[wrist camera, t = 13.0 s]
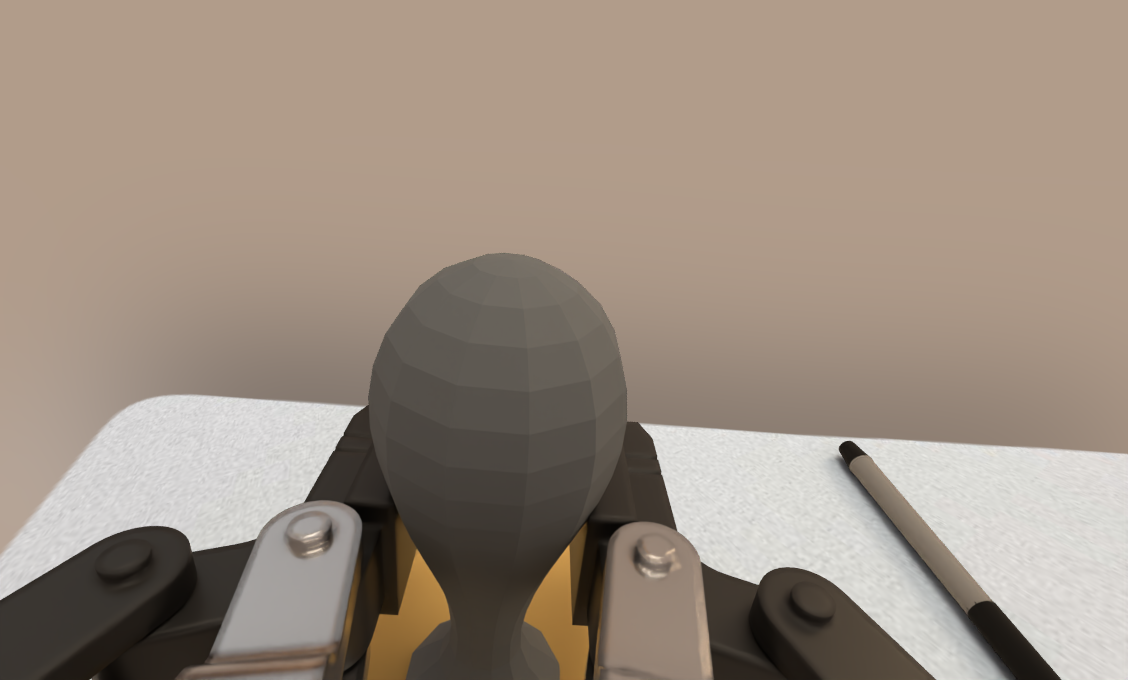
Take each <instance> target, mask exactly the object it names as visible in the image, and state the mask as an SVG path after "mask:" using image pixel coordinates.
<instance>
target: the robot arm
mask: <svg viewBox="0 0 1128 680" xmlns="http://www.w3.org/2000/svg"><path fill="white" fill-rule="evenodd" d="M569 549H570V578H571V606H572V625H578V626H588V637H589V650H588V656H587V661H586V666H585V675H584V680H936V679H935V678H934V677H933V676H932V675H931V674H929V673H928V672H927V671H926V670H925V669H924V668H923V667H922V666H921V665H920V664H919V663H918V662H917V661H916V660H915V659H914V658H913V657H912V656H910V655H909V654H908V653H907V652H906V651H905V650H904V649H903V648H902V647H901V646H900V645H899V644H898V643H897V642H896V641H895V640H894V639H893V638H891V637H890V636H889V635H888V634H887V633H886V632H885V631H884V630H883V629H882V628H881V627H880V626H879V625H878V624H877V623H876V622H875V621H874V620H872V619H871V618H870V617H869V616H868V615H867V614H866V613H865V612H864V611H863V610H862V609H861V608H860V607H859V606H858V605H857V604H856V603H855V602H854V601H852V600H851V599H850V598H849V597H848V596H847V595H846V594H845V593H844V592H843V591H842V590H841V589H839V588H838V587H837V586H836V585H834V584H833V583H831V582H830V581H828V580H827V579H825V578H823V577H821V576H819V575H817V574H815V573H812V572H810V571H807V570H803V569H798V568H790V567H785V568H778V569H774V570H772V571H770V572H768V573H767V574H766V575H765V576H764V577H763V578H762V580H761V581H760V584H759V585H756V584H753V583H750V582H747V581H744V580H741V579H738V578H735V577H732V576H729V575H726V574H723V573H721V572H718V571H716V570H714V569H712V568H710V567H708V566H707V565H705V564H704V563H702V562H701V561H700V557H699V555H698V553H697V551H696V549H695V548H694V546H693V545H692V544H691V543H690V542H689V540H688V539H686V538H685V537H684V536H683V535H682V534H680V533H679V532H677V528H676V524H675V521H674V517H673V513H672V510H671V506H670V502H669V498H668V495H667V491H666V487H665V484H664V480H663V476H662V475H661V469H660V465H659V461H658V460H657V454H656V450H655V446H654V443H653V439H652V438H651V436H650V435H649V434H648V433H647V432H646V431H645V430H644V429H643V427H642V426H641V425H640V424H639V423H638V422H627V424H626V429H625V435H624V440H623V446H622V451H621V454H620V456H619V459H618V462H617V465H616V468H615V470H614V473H613V476H612V478H611V480H610V482H609V484H608V486H607V488H606V490H605V492H604V494H603V495H602V497H601V499H600V501H599V503H598V504H597V506H596V507H595V508H594V510H593V511H592V512H591V513H590V515H589V517H588V519H587V521H586V523H585V524H584V525H583V527H582V528H581V529H580V531H579V532H578V533H577V535H576V536H575V538H574V539H573V540H572V542H571V543H570V544H569ZM416 550H417V548H416V546H415V545H414V543H413V541H412V540H411V538H410V536H409V534H408V532H407V530H406V528H405V526H404V524H403V522H402V520H401V517H400V515H399V512H398V510H397V508H396V505H395V503H394V500H393V498H392V495H391V493H390V490H389V488H388V486H387V483H386V481H385V478H384V475H383V473H382V470H381V467H380V465H379V462H378V459H377V457H376V452H375V448H374V444H373V439H372V435H371V430H370V420H369V405H368V406H366V407H365V408H363V409H362V410H361V411H359V412H358V413H357V414H355V415H354V416H353V418H352V419H351V421H350V423H349V425H348V426H347V428H346V430H345V432H344V436H342V437H341V439H340V440H339V442H338V444H337V446H336V449H335V451H333V453H332V454H331V456H330V458H329V460H328V461H327V463H326V465H325V467H324V468H323V470H322V472H321V474H320V475H319V477H318V479H317V481H316V482H315V484H314V486H313V488H312V489H311V491H310V493H309V495H308V496H307V498H306V500H305V502H304V503H302V504H299V505H296V506H293V507H291V508H288V509H286V510H284V511H283V512H281V513H279V514H278V515H276V516H275V517H274V518H272V519H271V520H270V521H269V522H268V523H267V524H266V525H265V526H264V527H263V529H262V530H261V532H260V534H259V535H258V537H257V539H255V540H252V541H249V542H244V543H240V544H235V545H229V546H224V547H218V548H212V549H207V550H201V551H195V552H192V551H191V547H190V543H189V540H188V539H187V537H186V536H185V535H184V534H183V533H181V532H180V531H178V530H176V529H173V528H169V527H164V526H147V527H140V528H134V529H130V530H126V531H123V532H120V533H117V534H114V535H112V536H110V537H107V538H105V539H103V540H101V541H99V542H97V543H95V544H93V545H92V546H90V547H88V548H87V549H85V550H83V551H82V552H80V553H78V554H77V555H75V556H73V557H72V558H70V559H68V560H67V561H65V562H63V563H62V564H60V565H58V566H57V567H55V568H53V569H52V570H50V571H48V572H47V573H45V574H43V575H42V576H40V577H38V578H37V579H35V580H33V581H32V582H30V583H28V584H27V585H25V586H23V587H22V588H20V589H18V590H17V591H15V592H13V593H12V594H10V595H8V596H7V597H5V598H3V599H2V600H0V680H90V679H91V678H92V680H367V677H368V670H369V663H370V653H371V648H370V642H371V640H372V637H373V634H374V631H375V627H376V624H377V621H378V618H379V615H380V614H385V615H398V614H399V610H400V607H401V603H402V600H403V596H404V592H405V589H406V585H407V582H408V578H409V575H410V571H411V568H412V564H413V560H414V557H415V553H416Z"/></svg>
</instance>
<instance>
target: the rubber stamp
mask: <svg viewBox="0 0 1128 680" xmlns="http://www.w3.org/2000/svg"><path fill="white" fill-rule="evenodd" d="M368 400H369V420H370V430H371V435H372V439H373V444H374V448H375V452H376V457H377V459H378V462H379V465H380V467H381V470H382V473H383V475H384V478H385V481H386V483H387V486H388V488H389V490H390V493H391V495H392V498H393V500H394V503H395V505H396V508H397V510H398V512H399V515H400V517H401V520H402V522H403V524H404V526H405V528H406V530H407V532H408V534H409V536H410V538H411V540H412V541H413V543H414V545H415V546H416V548H417V550H416V553H415V557H414V560H413V564H412V568H411V571H410V575H409V578H408V582H407V585H406V589H405V592H404V596H403V600H402V603H401V607H400V610H399V614H398V615H385V614H380V615H379V618H378V621H377V624H376V627H375V631H374V634H373V637H372V640H371V642H370V648H371V653H370V663H369V670H368V677H367V680H584V675H585V666H586V661H587V656H588V650H589V637H588V626H578V625H572V606H571V578H570V549H569V544H570V543H571V542H572V540H573V539H574V538H575V536H576V535H577V533H578V532H579V531H580V529H581V528H582V527H583V525H584V524H585V523H586V521H587V519H588V517H589V515H590V513H591V512H592V511H593V510H594V508H595V507H596V506H597V504H598V503H599V501H600V499H601V497H602V495H603V494H604V492H605V490H606V488H607V486H608V484H609V482H610V480H611V478H612V476H613V473H614V470H615V468H616V465H617V462H618V459H619V456H620V454H621V451H622V446H623V440H624V435H625V429H626V424H627V388H626V383H625V377H624V372H623V367H622V361H621V357H620V352H619V348H618V343H617V339H616V335H615V330H614V328H613V327H612V325H611V323H610V321H609V319H608V317H607V315H606V313H605V312H604V310H603V308H602V306H601V304H600V303H599V302H598V301H597V300H596V299H595V298H594V297H593V296H592V295H591V294H590V293H589V292H588V291H587V290H586V289H585V288H584V287H583V286H582V285H581V284H580V283H579V282H578V281H577V280H575V279H573V278H572V277H571V276H569V275H567V274H566V273H564V272H563V271H561V270H560V269H558V268H556V267H554V266H551V265H550V264H547V263H545V262H543V261H541V260H539V259H536V258H532V257H529V256H525V255H519V254H509V253H498V254H486V255H483V256H480V257H476V258H473V259H470V260H467V261H464V262H461V263H458V264H455V265H452V266H449V267H446V268H444V269H442V270H441V271H440V272H438V273H437V274H436V275H434V276H433V277H431V278H430V279H428V280H427V281H426V282H424V283H423V284H422V285H420V286H419V288H418V289H417V290H416V292H415V293H414V294H413V296H412V297H411V298H410V300H409V301H408V302H407V304H406V305H405V307H404V308H403V309H402V310H401V312H400V313H399V315H398V316H397V318H396V319H395V321H394V322H393V324H392V325H391V327H390V328H389V330H388V331H387V332H386V334H385V336H384V339H383V342H382V344H381V347H380V349H379V352H378V354H377V357H376V359H375V362H374V365H373V369H372V376H371V383H370V390H369V396H368Z"/></svg>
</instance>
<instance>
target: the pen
mask: <svg viewBox="0 0 1128 680" xmlns="http://www.w3.org/2000/svg"><path fill="white" fill-rule="evenodd" d="M839 452H840V453H841V455H842V457H843V458H844V460H845V462H846V463H847V465H848V467H849V468H850V471H851V472H852V473H853V474H854V475H855V476H856V477H857V478H858V480H859V481H860V482H861V483H862V485H863V486H864V487H865V488H866V490H867V491H868V492H869V493H870V495H871V496H872V497H873V498H874V499H875V501H876V502H877V503H878V504H879V506H880V507H881V508H882V509H883V511H884V512H885V513H886V514H887V516H888V517H889V518H890V519H891V521H892V522H893V523H894V524H895V526H896V527H897V528H898V529H899V531H900V532H901V533H902V534H903V536H904V537H905V538H906V539H907V540H908V542H909V543H910V544H911V545H912V547H913V548H914V549H915V550H916V552H917V553H918V554H919V555H920V557H921V558H922V559H923V560H924V562H925V563H926V564H927V565H928V567H929V568H930V569H931V570H932V572H933V573H934V574H935V575H936V576H937V578H938V579H939V580H940V581H941V583H942V584H943V585H944V586H945V588H946V589H947V590H948V591H949V593H950V594H951V595H952V596H953V598H954V599H955V600H956V601H957V603H958V604H959V605H960V606H961V608H962V609H963V610H964V611H965V612H966V614H967V615H968V617H969V619H970V620H971V621H972V622H973V624H974V625H975V626H976V627H977V629H978V630H979V631H980V632H981V634H982V635H983V636H984V637H985V639H986V640H987V641H988V643H989V644H990V645H991V646H992V648H993V649H994V650H995V651H996V653H997V654H998V655H999V656H1000V658H1001V659H1002V660H1003V661H1004V663H1005V664H1006V665H1007V666H1008V668H1009V669H1010V670H1011V671H1012V673H1013V674H1014V675H1015V676H1016V678H1017V679H1018V680H1061V679H1060V677H1059V676H1058V675H1057V674H1056V673H1055V672H1054V671H1053V669H1052V668H1051V667H1050V666H1049V665H1048V664H1047V662H1046V661H1045V660H1044V659H1043V658H1042V657H1041V655H1040V654H1039V653H1038V652H1037V651H1036V650H1035V649H1034V647H1033V646H1032V645H1031V644H1030V643H1029V642H1028V640H1027V639H1026V638H1025V637H1024V636H1023V635H1022V634H1021V632H1020V631H1019V630H1018V629H1017V628H1016V627H1015V625H1014V624H1013V623H1012V622H1011V621H1010V620H1009V619H1008V617H1007V616H1006V615H1005V614H1004V613H1003V612H1002V610H1001V609H1000V608H999V607H998V606H997V605H996V604H995V603H994V602H993V601H992V600H991V599H990V598H989V596H988V595H987V594H986V593H985V592H984V591H983V589H982V588H981V587H980V586H979V585H978V584H977V582H976V581H975V580H974V579H973V578H972V577H971V575H970V574H969V573H968V572H967V571H966V569H965V568H964V567H963V566H962V565H961V564H960V562H959V561H958V560H957V559H956V558H955V557H954V555H953V554H952V553H951V552H950V551H949V550H948V548H947V547H946V546H945V545H944V544H943V543H942V541H941V540H940V539H939V538H938V537H937V536H936V534H935V533H934V532H933V531H932V530H931V528H930V527H929V526H928V525H927V524H926V523H925V521H924V520H923V519H922V518H921V517H920V516H919V514H918V513H917V512H916V511H915V510H914V509H913V507H912V506H911V505H910V504H909V503H908V502H907V500H906V499H905V498H904V497H903V496H902V494H901V493H900V492H899V491H898V490H897V489H896V487H895V486H894V485H893V484H892V483H891V482H890V480H889V479H888V478H887V477H886V476H885V475H884V473H883V472H882V471H881V470H880V469H879V468H878V466H877V465H876V464H875V463H874V462H873V460H872V458H871V457H869V456H868V455H867V454H866V453H865V452H864V451H862V450H861V449H860V448H859V447H858V446H857V445H856V444H855V443H853V442H852V441H846V442H843V443H842V444H841V445H840V446H839Z"/></svg>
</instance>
